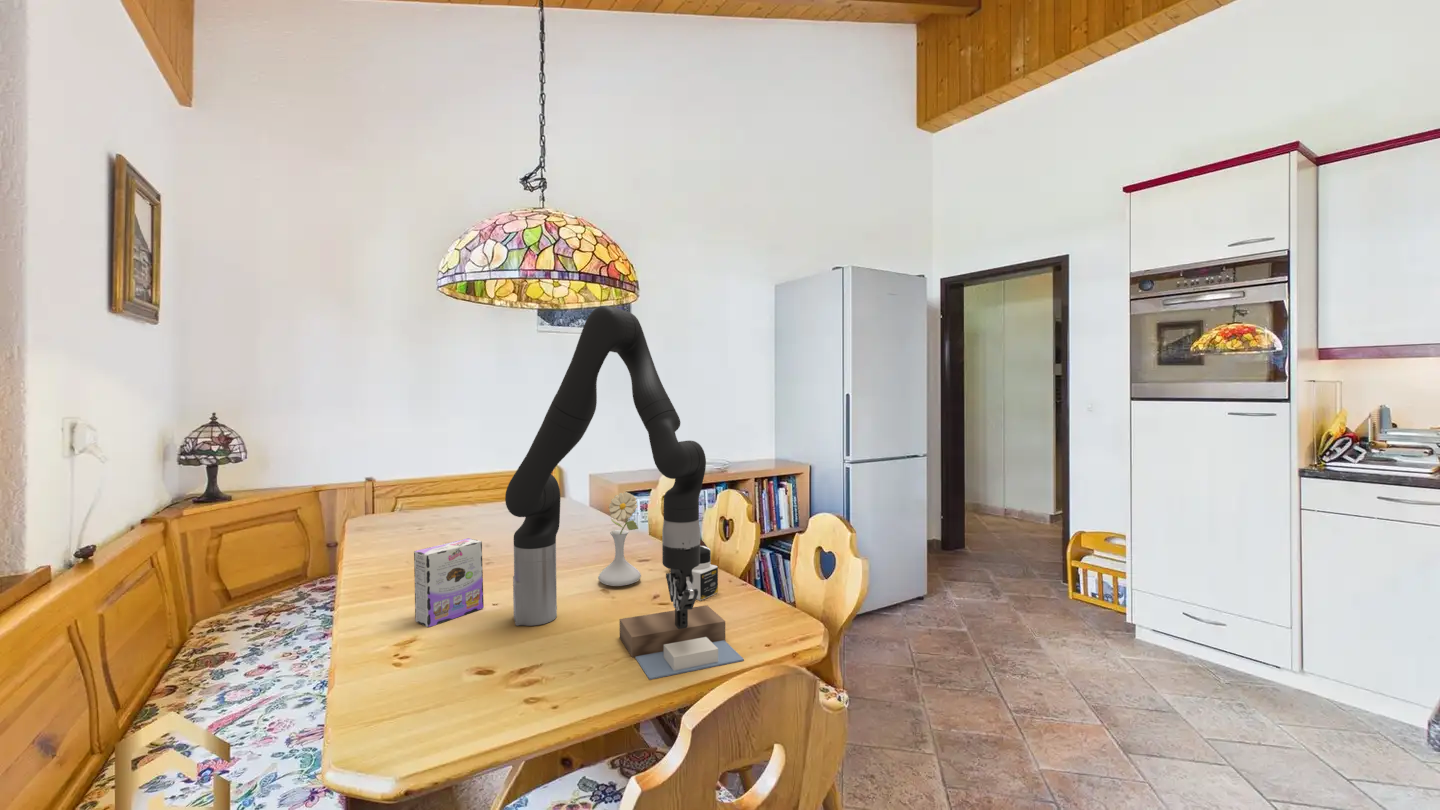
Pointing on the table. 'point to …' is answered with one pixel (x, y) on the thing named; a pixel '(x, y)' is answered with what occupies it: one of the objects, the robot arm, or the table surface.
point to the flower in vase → (621, 543)
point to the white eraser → (690, 653)
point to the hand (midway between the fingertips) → (681, 627)
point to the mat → (659, 668)
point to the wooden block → (669, 630)
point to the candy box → (448, 581)
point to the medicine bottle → (705, 575)
